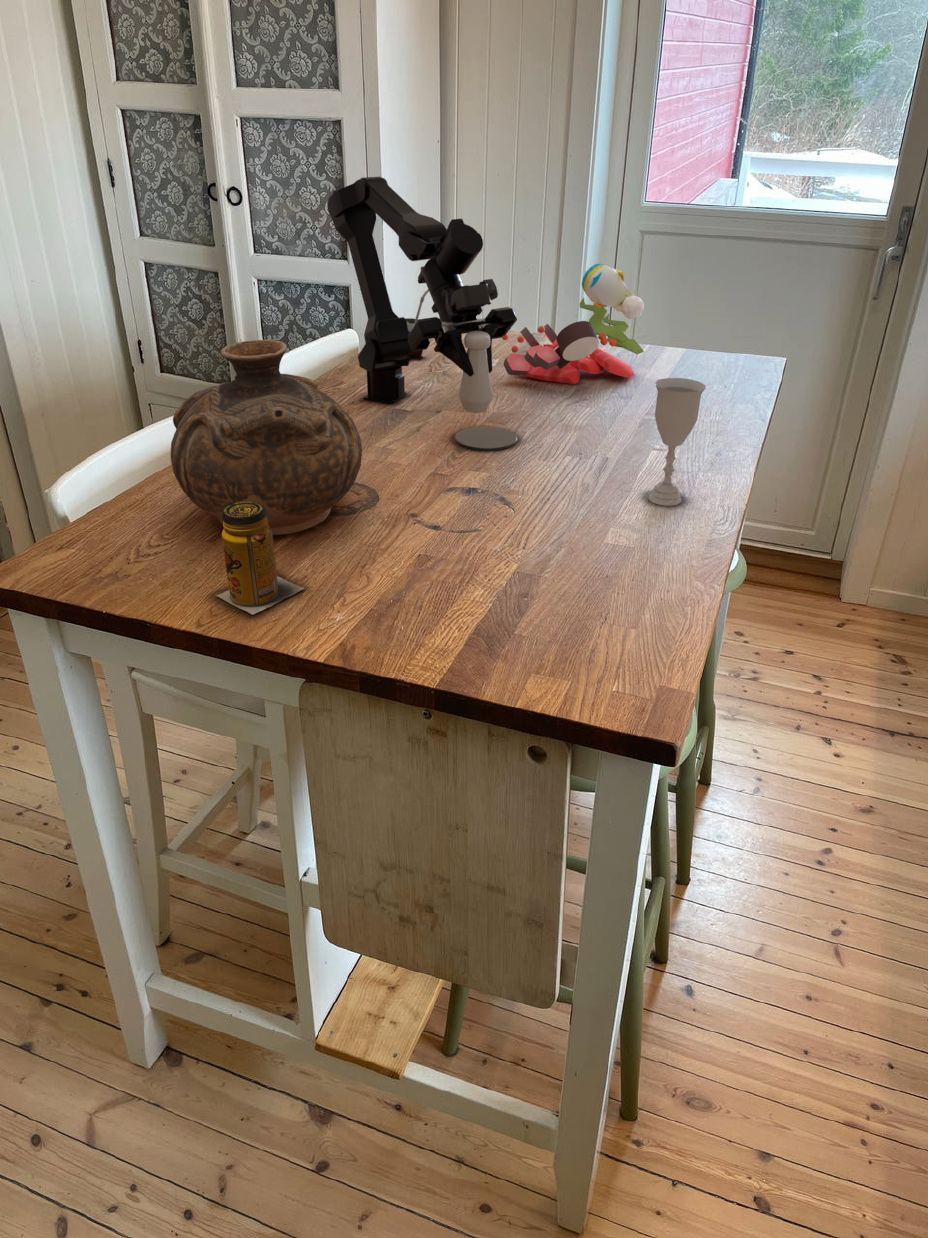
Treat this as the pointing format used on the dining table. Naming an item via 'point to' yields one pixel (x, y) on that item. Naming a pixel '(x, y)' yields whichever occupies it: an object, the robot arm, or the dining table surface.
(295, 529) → the vessel
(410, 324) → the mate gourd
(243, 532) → the condiment
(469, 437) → the coaster
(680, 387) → the chalice
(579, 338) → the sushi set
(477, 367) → the salt shaker
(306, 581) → the dining table surface
